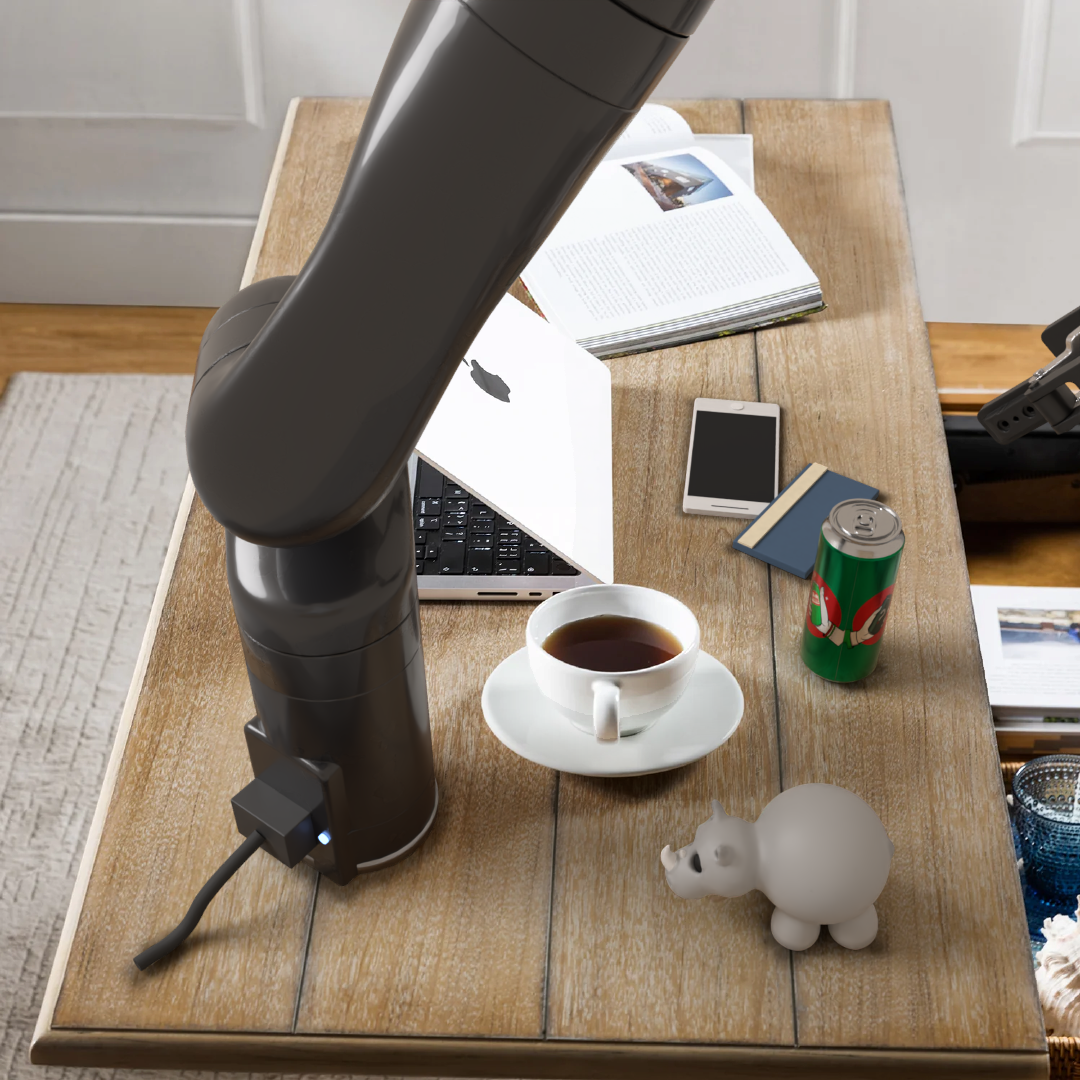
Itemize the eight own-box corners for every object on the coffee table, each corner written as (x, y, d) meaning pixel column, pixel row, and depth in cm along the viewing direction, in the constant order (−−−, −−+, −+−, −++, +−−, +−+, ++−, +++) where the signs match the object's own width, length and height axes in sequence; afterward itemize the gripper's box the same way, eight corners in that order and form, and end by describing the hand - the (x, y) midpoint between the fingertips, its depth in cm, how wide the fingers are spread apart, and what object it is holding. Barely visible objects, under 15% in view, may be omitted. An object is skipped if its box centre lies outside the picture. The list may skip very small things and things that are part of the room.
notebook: (805, 579, 91) (806, 570, 90) (731, 547, 94) (733, 538, 93) (878, 496, 98) (880, 487, 98) (808, 469, 101) (810, 460, 100)
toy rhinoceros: (652, 851, 73) (660, 753, 68) (863, 854, 73) (888, 755, 67) (659, 964, 67) (668, 866, 62) (887, 967, 67) (916, 869, 62)
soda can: (878, 641, 86) (910, 501, 78) (873, 694, 82) (906, 553, 75) (803, 628, 87) (827, 488, 79) (794, 679, 83) (818, 538, 76)
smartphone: (778, 412, 108) (780, 402, 107) (776, 525, 96) (777, 515, 96) (694, 405, 109) (695, 395, 108) (681, 516, 97) (682, 506, 97)
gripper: (1304, 83, 57) (1027, 272, 71) (1210, 213, 49) (917, 399, 62) (1409, 210, 58) (1113, 375, 71) (1333, 360, 49) (1015, 515, 63)
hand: (1022, 386), depth 67 cm, fingers open, 8 cm apart
